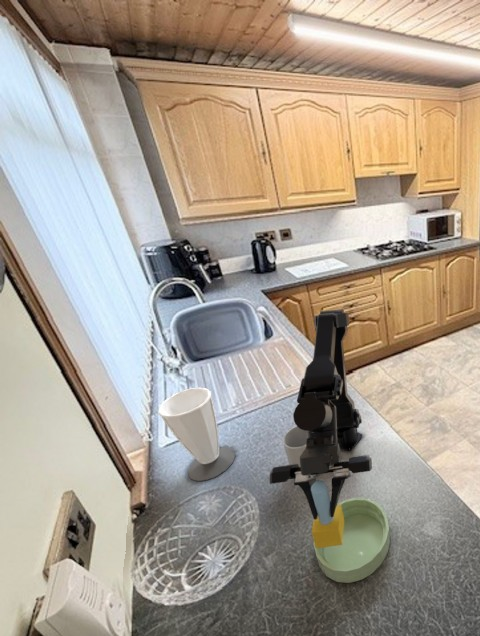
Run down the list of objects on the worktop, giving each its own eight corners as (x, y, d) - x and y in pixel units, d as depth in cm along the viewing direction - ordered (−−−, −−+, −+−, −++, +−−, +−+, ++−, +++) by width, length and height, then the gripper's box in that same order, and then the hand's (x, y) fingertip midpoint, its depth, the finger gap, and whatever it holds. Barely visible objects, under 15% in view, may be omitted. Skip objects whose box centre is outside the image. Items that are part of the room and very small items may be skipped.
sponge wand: (320, 524, 72) (307, 477, 66) (344, 520, 72) (334, 473, 66) (316, 548, 68) (302, 500, 61) (342, 544, 68) (330, 497, 62)
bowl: (346, 501, 83) (343, 488, 81) (402, 525, 77) (401, 512, 75) (302, 564, 71) (297, 551, 69) (365, 598, 65) (362, 585, 63)
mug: (304, 485, 87) (295, 454, 83) (284, 470, 92) (275, 439, 87) (341, 454, 96) (334, 424, 91) (321, 441, 101) (314, 412, 96)
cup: (217, 442, 102) (193, 382, 93) (244, 454, 97) (221, 393, 88) (178, 472, 93) (146, 409, 83) (205, 487, 88) (175, 422, 79)
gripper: (259, 437, 62) (255, 536, 57) (364, 425, 64) (369, 520, 59) (280, 437, 73) (278, 521, 68) (369, 427, 74) (374, 508, 69)
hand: (323, 518), depth 66 cm, fingers closed on sponge wand, 3 cm apart
